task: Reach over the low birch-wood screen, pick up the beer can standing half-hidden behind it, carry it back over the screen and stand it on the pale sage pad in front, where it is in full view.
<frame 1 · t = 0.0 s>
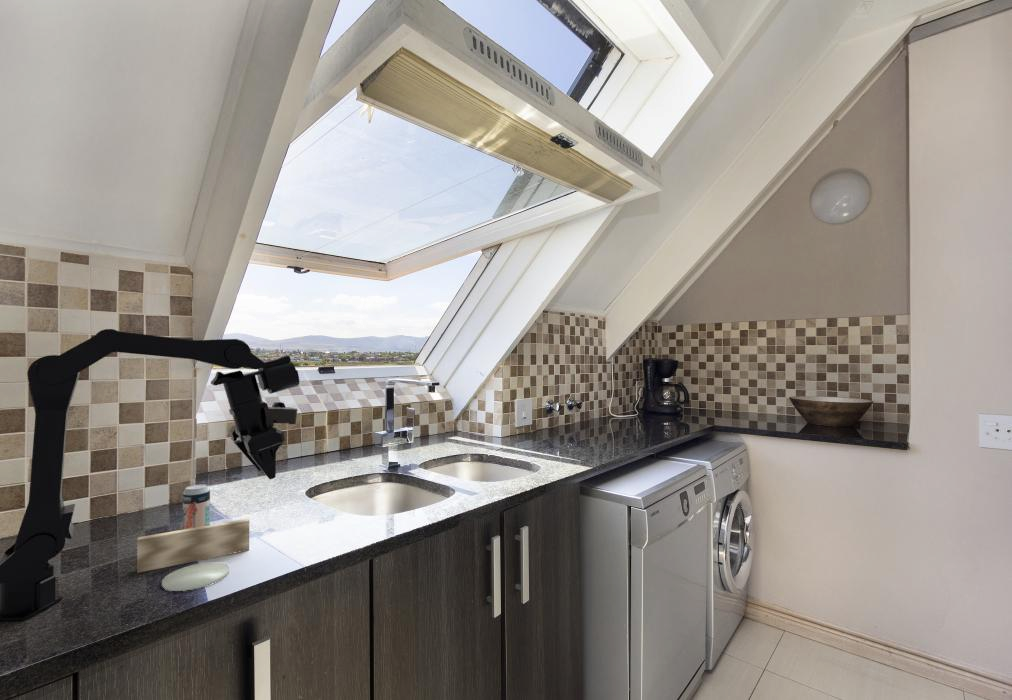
hand: (266, 473, 96), 15 cm above the countertop, tool pointing down, fingers open, 9 cm apart
birch screen: (196, 559, 91), on the countertop
beer can: (196, 544, 99), on the countertop
sage pad: (196, 577, 84), on the countertop
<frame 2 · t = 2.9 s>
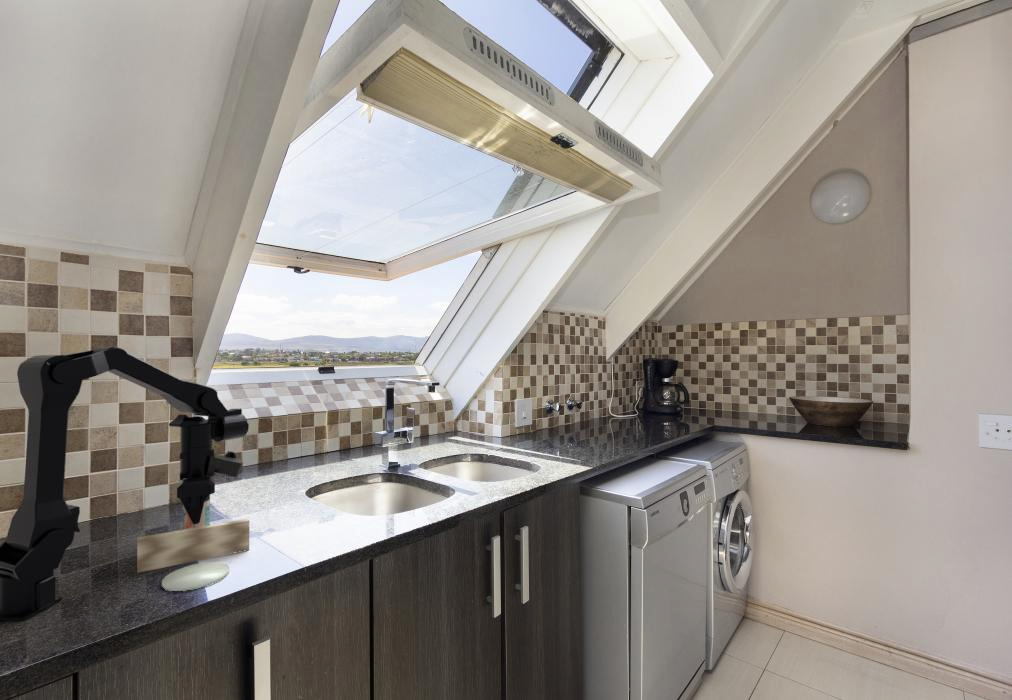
hand: (196, 520, 99), 5 cm above the countertop, tool pointing down, fingers closed on beer can, 5 cm apart
beer can: (196, 544, 99), on the countertop, touching gripper
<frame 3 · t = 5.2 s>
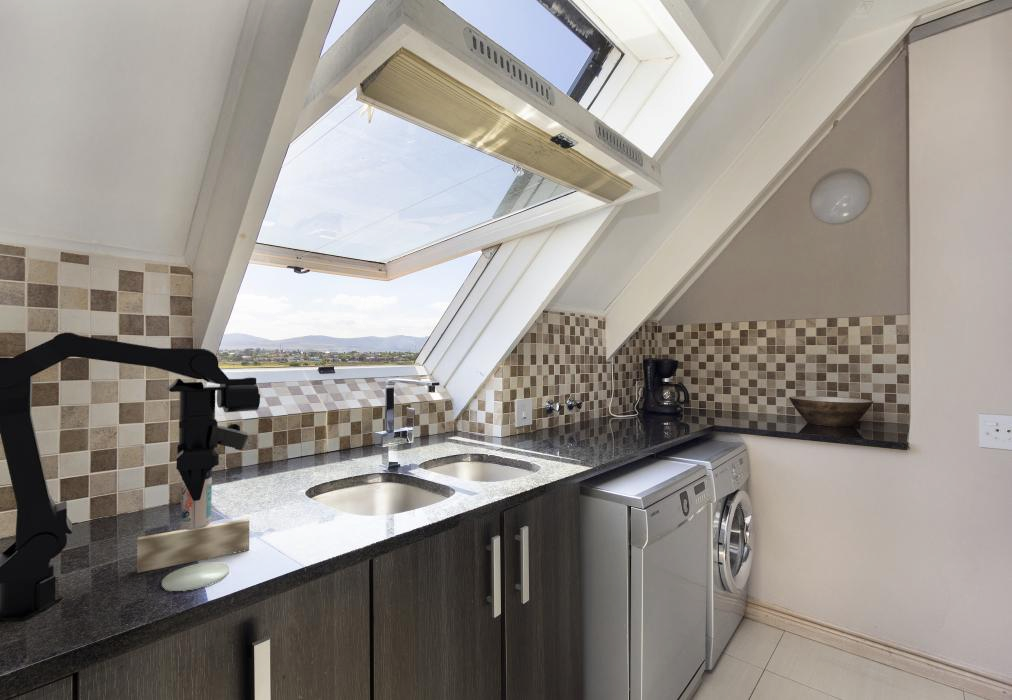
hand: (196, 497, 89), 13 cm above the countertop, tool pointing down, fingers closed on beer can, 5 cm apart
beer can: (196, 527, 89), point 7 cm above the countertop, touching gripper
when the fingers open (7 cm above the countertop, at t = 7.6 s): beer can stays where it is, resting on sage pad.
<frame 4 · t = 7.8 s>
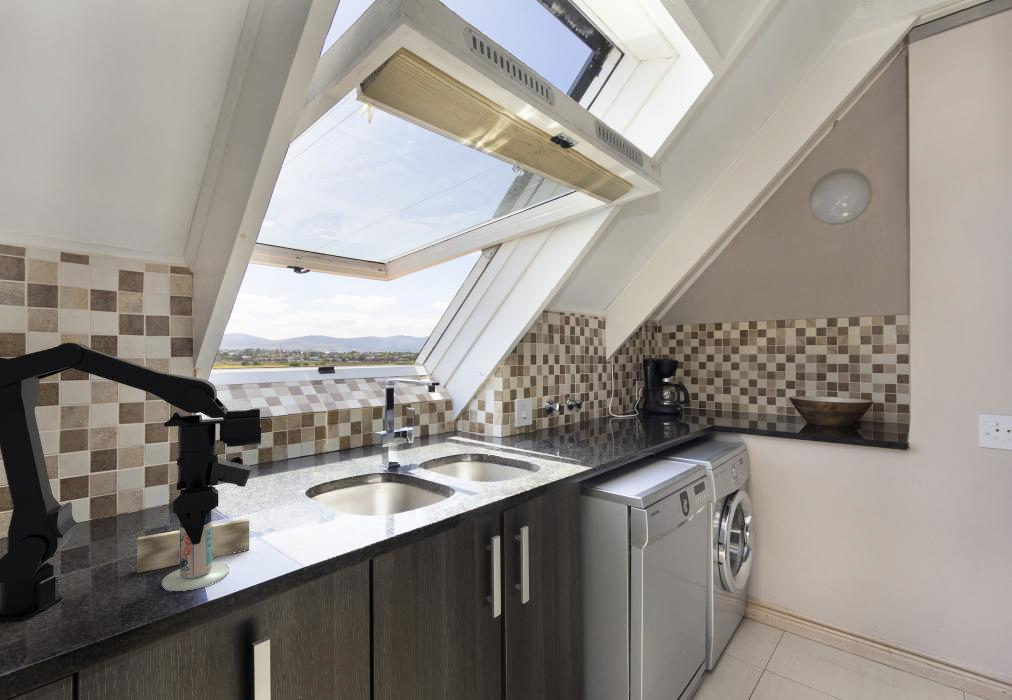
hand: (196, 537, 84), 7 cm above the countertop, tool pointing down, fingers open, 7 cm apart
beer can: (196, 575, 84), resting on sage pad
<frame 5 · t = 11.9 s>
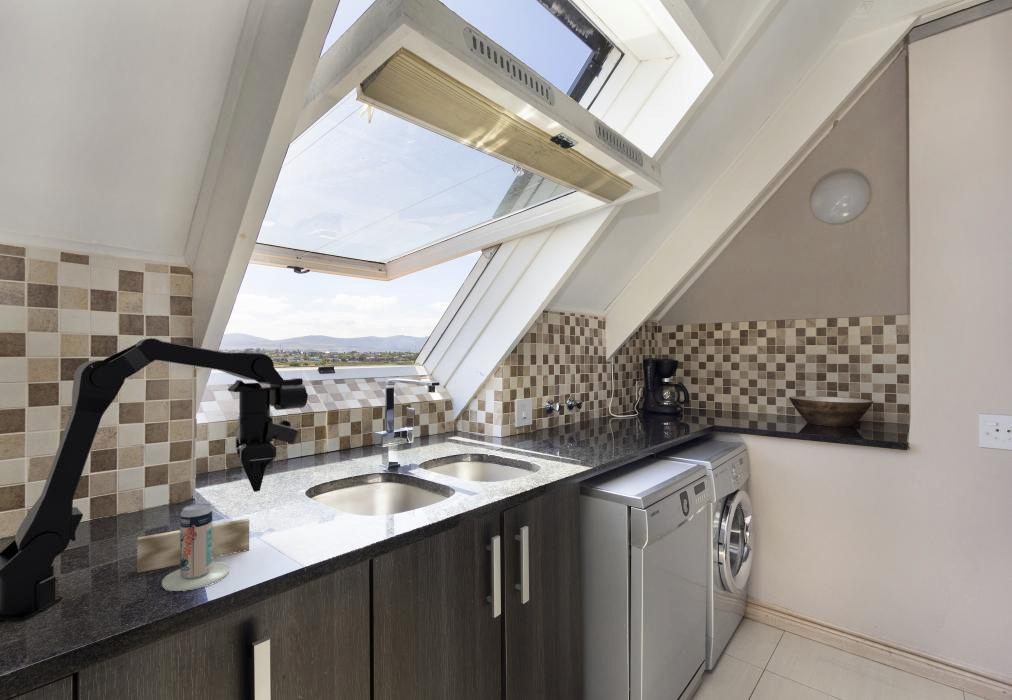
hand: (254, 486, 99), 12 cm above the countertop, tool pointing down, fingers open, 9 cm apart
nothing on the countertop moved.
at the end: beer can 0.0 cm from the sage pad (horizontally); beer can tilted 0°; the gripper is holding nothing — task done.
